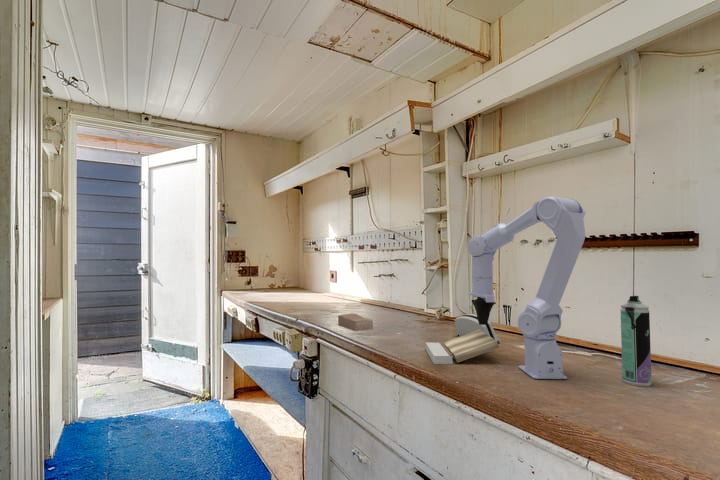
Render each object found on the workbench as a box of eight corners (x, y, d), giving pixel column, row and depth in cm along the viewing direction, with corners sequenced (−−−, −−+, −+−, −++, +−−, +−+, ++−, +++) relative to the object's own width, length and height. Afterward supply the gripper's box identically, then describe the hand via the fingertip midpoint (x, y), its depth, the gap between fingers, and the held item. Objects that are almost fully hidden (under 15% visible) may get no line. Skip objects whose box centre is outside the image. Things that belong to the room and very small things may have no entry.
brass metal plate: (499, 347, 103) (496, 340, 104) (457, 362, 104) (454, 355, 104) (481, 335, 119) (479, 329, 120) (445, 348, 120) (443, 342, 120)
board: (452, 364, 104) (452, 354, 104) (434, 364, 104) (433, 354, 104) (441, 349, 120) (441, 341, 120) (425, 349, 120) (425, 341, 120)
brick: (374, 329, 153) (374, 318, 153) (355, 332, 149) (355, 319, 149) (354, 323, 168) (354, 313, 168) (337, 325, 163) (337, 314, 164)
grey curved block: (502, 343, 128) (494, 315, 127) (492, 349, 126) (483, 321, 125) (467, 334, 143) (460, 309, 142) (458, 339, 141) (450, 314, 140)
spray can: (653, 388, 85) (650, 297, 86) (623, 383, 88) (620, 296, 89) (650, 381, 89) (647, 295, 90) (621, 377, 92) (619, 294, 93)
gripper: (462, 276, 120) (463, 319, 119) (475, 279, 105) (476, 329, 105) (485, 276, 119) (486, 320, 119) (501, 279, 105) (502, 329, 104)
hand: (483, 324), depth 112 cm, fingers closed
